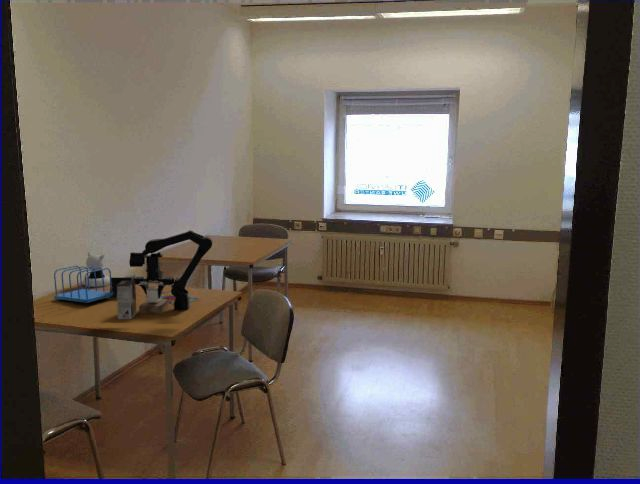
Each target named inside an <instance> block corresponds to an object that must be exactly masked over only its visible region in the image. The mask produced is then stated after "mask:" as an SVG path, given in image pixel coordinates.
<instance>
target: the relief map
mask: <svg viewBox="0 0 640 484" xmlns="http://www.w3.org/2000/svg"><path fill="white" fill-rule="evenodd" d="M188 297H189V303H192V302H196V301H200V300H202V299H201V298H198V297H194V296H191V295H190V296H189V295H188ZM145 298H146V299H147V296H145ZM161 299H168V304H170V305H174V301H175V296H173V295H172V293H171V290H168V291H167V290H166V291H164V292H163V291H162V294H161Z"/></svg>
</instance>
